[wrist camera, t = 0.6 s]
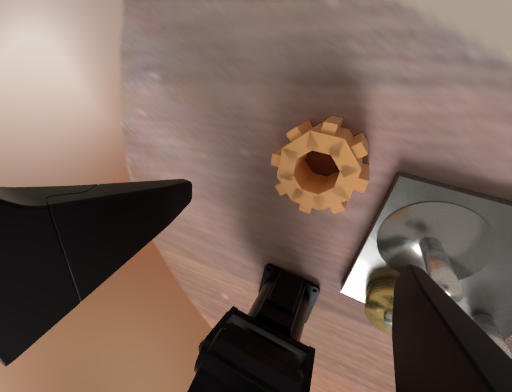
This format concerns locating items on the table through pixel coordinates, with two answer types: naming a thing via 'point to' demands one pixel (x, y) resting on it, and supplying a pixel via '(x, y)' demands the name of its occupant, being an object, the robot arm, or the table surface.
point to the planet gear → (315, 185)
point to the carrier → (439, 252)
